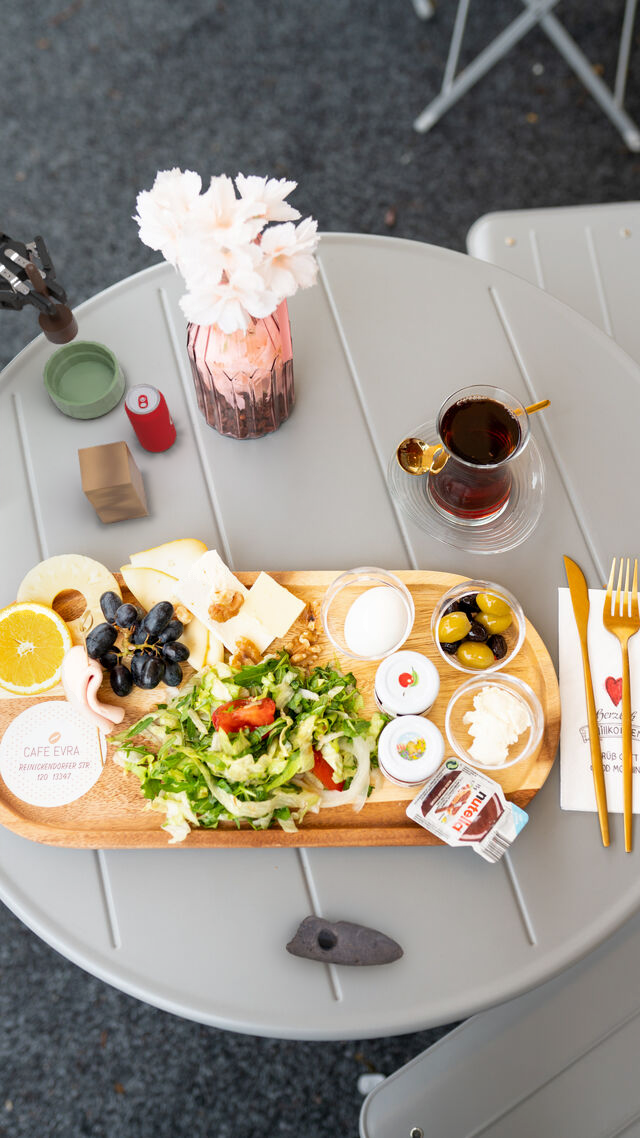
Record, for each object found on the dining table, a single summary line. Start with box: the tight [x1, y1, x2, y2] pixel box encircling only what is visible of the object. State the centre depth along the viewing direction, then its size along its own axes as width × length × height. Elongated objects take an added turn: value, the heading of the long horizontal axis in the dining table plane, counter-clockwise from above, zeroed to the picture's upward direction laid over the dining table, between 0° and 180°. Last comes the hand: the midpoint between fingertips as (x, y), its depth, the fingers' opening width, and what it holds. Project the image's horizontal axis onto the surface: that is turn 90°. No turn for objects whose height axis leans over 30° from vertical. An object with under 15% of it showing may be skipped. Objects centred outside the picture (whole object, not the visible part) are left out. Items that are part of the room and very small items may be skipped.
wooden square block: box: [77, 440, 149, 525], centre depth 125 cm, size 7×7×12 cm
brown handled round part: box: [25, 262, 79, 345], centre depth 115 cm, size 5×5×14 cm
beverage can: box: [124, 383, 177, 453], centre depth 129 cm, size 6×6×12 cm
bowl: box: [42, 340, 126, 420], centre depth 135 cm, size 12×12×5 cm
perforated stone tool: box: [285, 915, 405, 967], centre depth 105 cm, size 15×5×7 cm, turn 79°
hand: (58, 304), depth 114 cm, fingers closed on brown handled round part
